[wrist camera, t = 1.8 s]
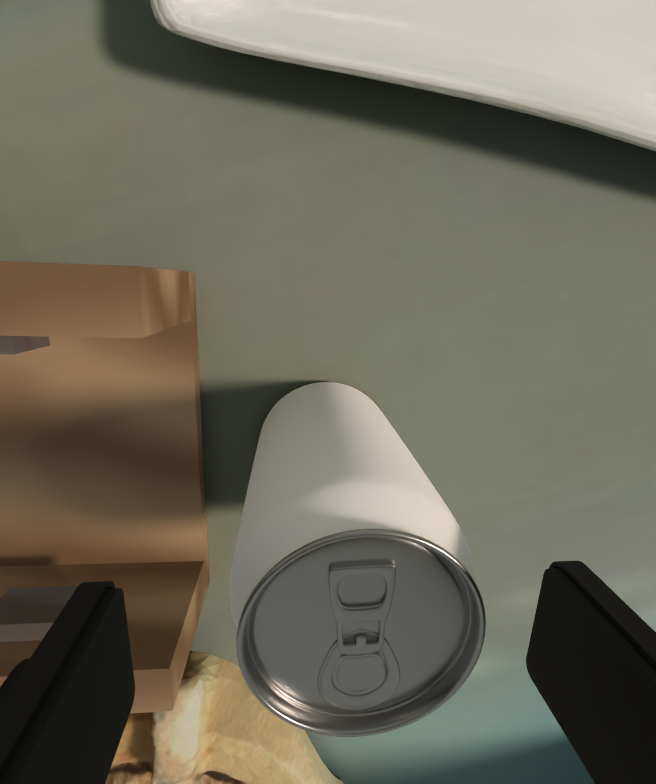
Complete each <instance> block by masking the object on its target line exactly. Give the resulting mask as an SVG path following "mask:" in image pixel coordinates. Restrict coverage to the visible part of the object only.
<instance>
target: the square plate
mask: <svg viewBox="0 0 656 784" xmlns="http://www.w3.org/2000/svg"><path fill="white" fill-rule="evenodd" d="M150 3H151V8H152V11H153V13H154V16H155V19H156V21H157V23H158V24H159V25H161V26H162V27H163V28H165V29H166V30H168V31H169V32H171V33H173V34H176V35H179V36H182V37H185V38H188V39H191V40H194V41H198V42H201V43H204V44H207V45H211V46H215V47H219V48H223V49H227V50H231V51H235V52H239V53H244V54H249V55H253V56H258V57H263V58H267V59H271V60H275V61H280V62H286V63H292V64H297V65H303V66H308V67H313V68H318V69H323V70H328V71H333V72H339V73H344V74H348V75H353V76H358V77H363V78H368V79H373V80H378V81H383V82H388V83H393V84H398V85H403V86H408V87H412V88H417V89H422V90H426V91H431V92H435V93H440V94H445V95H449V96H454V97H458V98H463V99H468V100H472V101H476V102H480V103H484V104H489V105H493V106H497V107H501V108H505V109H510V110H514V111H518V112H522V113H526V114H530V115H534V116H538V117H541V118H545V119H549V120H552V121H556V122H560V123H564V124H567V125H571V126H575V127H578V128H582V129H586V130H589V131H592V132H595V133H599V134H602V135H605V136H608V137H611V138H615V139H618V140H621V141H624V142H627V143H630V144H634V145H637V146H640V147H643V148H646V149H650V150H653V151H656V0H150Z"/></svg>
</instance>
